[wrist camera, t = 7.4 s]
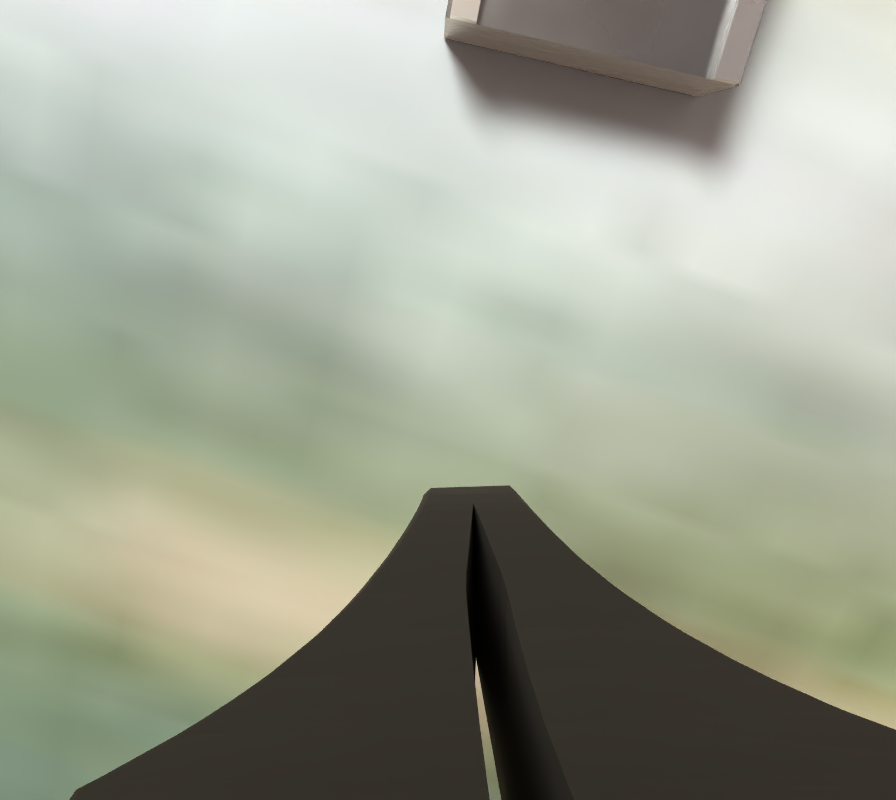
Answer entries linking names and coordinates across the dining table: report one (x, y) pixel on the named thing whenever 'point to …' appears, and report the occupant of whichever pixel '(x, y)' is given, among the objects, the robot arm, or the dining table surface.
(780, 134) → the dining table surface
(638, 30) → the strip
